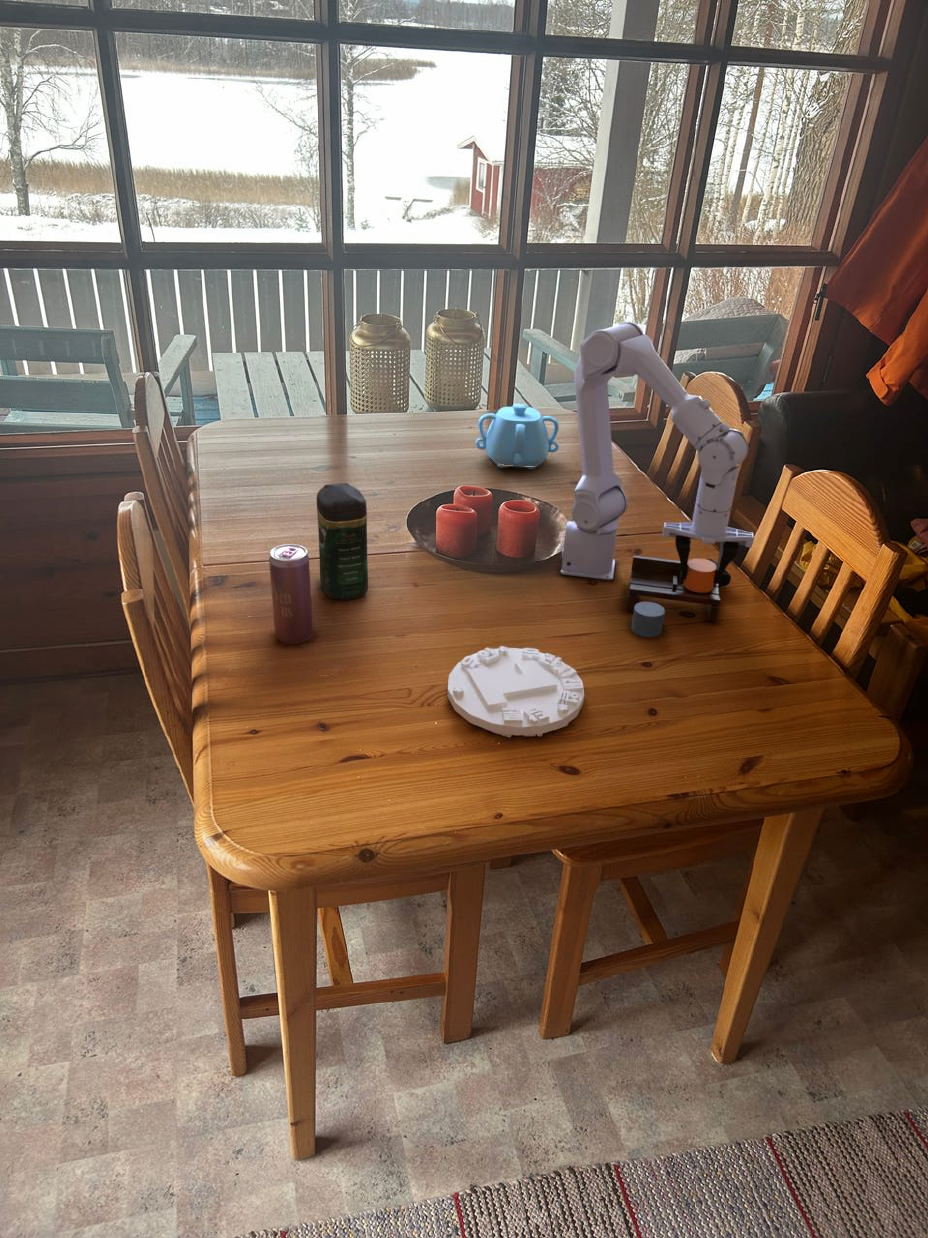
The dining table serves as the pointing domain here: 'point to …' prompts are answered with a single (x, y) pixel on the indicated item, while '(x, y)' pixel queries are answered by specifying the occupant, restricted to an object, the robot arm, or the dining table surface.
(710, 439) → the robot arm
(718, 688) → the dining table surface
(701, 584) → the orange squat cylinder
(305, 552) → the beverage can
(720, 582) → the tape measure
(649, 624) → the grey squat cylinder
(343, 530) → the coffee jar
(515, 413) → the decorative pot
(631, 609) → the rack
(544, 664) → the white flat round disc
